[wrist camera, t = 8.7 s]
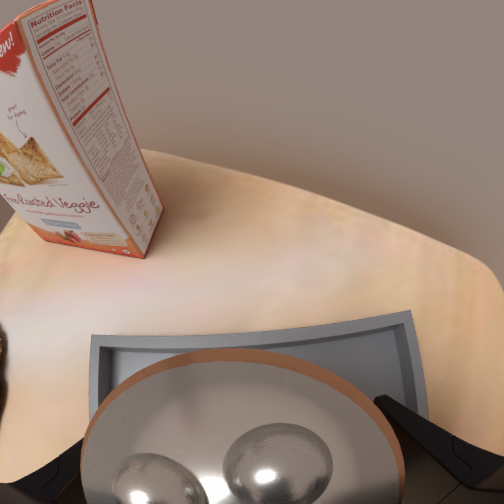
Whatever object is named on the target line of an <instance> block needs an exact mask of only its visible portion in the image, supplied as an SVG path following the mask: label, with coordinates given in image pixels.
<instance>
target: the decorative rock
mask: <svg viewBox="0 0 504 504" xmlns="http://www.w3.org/2000/svg"><path fill="white" fill-rule="evenodd" d="M1 339H2V338H0V341H1ZM3 348H4V347H2V345H1V343H0V361H1V354H2V352H3Z"/></svg>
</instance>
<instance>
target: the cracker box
mask: <svg viewBox="0 0 504 504" xmlns="http://www.w3.org/2000/svg"><path fill="white" fill-rule="evenodd" d="M0 193H1V195H2V196H3V197H4V198H5V199H6V200H7V201H8V203H9V204H10V205H11V206H12V207H13V208H14V210H15V211H16V212H17V213H18V214H19V215H20V216H21V217H22V218H23V219H24V220H25V221H26V223H27V224H28V225H29V226H30V227H31V228H32V229H33V230H34V231H35V232H36V233H37V234H38V235H39V236H40V237H41V238H42V239H43V240H45V241H51V242H56V243H61V244H66V245H71V246H77V247H82V248H87V249H93V250H98V251H104V252H109V253H114V254H120V255H126V256H131V257H137V258H144V256H145V254H146V251H147V248H148V246H149V243H150V241H151V238H152V236H153V233H154V231H155V228H156V226H157V223H158V221H159V219H160V216H161V214H162V211H163V209H164V206H163V203H162V201H161V198H160V196H159V194H158V191H157V189H156V187H155V184H154V182H153V180H152V177H151V175H150V173H149V170H148V168H147V165H146V163H145V160H144V158H143V155H142V153H141V150H140V148H139V146H138V143H137V140H136V138H135V135H134V133H133V130H132V127H131V125H130V122H129V120H128V117H127V114H126V111H125V108H124V105H123V103H122V100H121V97H120V94H119V91H118V89H117V85H116V82H115V79H114V77H113V73H112V70H111V67H110V64H109V61H108V58H107V54H106V51H105V48H104V44H103V41H102V37H101V34H100V30H99V27H98V23H97V19H96V16H95V11H94V8H93V4H92V0H48V1H46V2H43V3H41V4H39V5H36V6H34V7H32V8H30V9H28V10H27V11H25V12H23V13H22V14H20V15H19V16H18V17H17V18H15V19H14V20H13V21H11V22H10V23H9V24H8V25H6V26H5V27H4V28H3V29H2V30H0Z"/></svg>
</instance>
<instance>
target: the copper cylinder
mask: <svg viewBox="0 0 504 504" xmlns="http://www.w3.org/2000/svg"><path fill="white" fill-rule="evenodd" d="M80 469H81V481H82V486H83V490H84V494H85V498H86V501H87V504H401V503H402V499H403V495H404V487H405V468H404V459H403V455H402V451H401V448H400V444H399V441H398V439H397V437H396V435H395V433H394V431H393V429H392V427H391V425H390V424H389V422H388V421H387V419H386V418H385V416H384V415H383V413H382V412H381V411H380V409H379V408H378V407H377V406H376V405H375V404H374V403H373V402H372V401H371V400H370V399H369V398H368V397H367V396H366V395H365V394H364V393H362V392H361V391H360V390H359V389H357V388H356V387H355V386H354V385H352V384H351V383H350V382H348V381H346V380H345V379H343V378H341V377H340V376H338V375H336V374H335V373H333V372H331V371H329V370H327V369H325V368H322V367H320V366H318V365H316V364H314V363H311V362H308V361H305V360H302V359H299V358H296V357H293V356H290V355H285V354H280V353H276V352H271V351H266V350H256V349H247V348H217V349H207V350H198V351H193V352H189V353H184V354H179V355H176V356H173V357H170V358H167V359H164V360H161V361H158V362H156V363H154V364H152V365H150V366H148V367H145V368H143V369H141V370H139V371H138V372H136V373H135V374H133V375H132V376H130V377H129V378H127V379H126V380H124V381H123V382H122V383H121V384H120V385H118V386H117V387H116V388H115V389H114V390H113V391H112V392H111V393H110V394H109V395H108V396H107V397H106V398H105V400H104V401H103V402H102V403H101V404H100V406H99V407H98V409H97V411H96V412H95V414H94V416H93V417H92V419H91V421H90V423H89V426H88V428H87V431H86V433H85V436H84V441H83V445H82V449H81V462H80Z"/></svg>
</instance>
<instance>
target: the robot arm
mask: <svg viewBox="0 0 504 504" xmlns="http://www.w3.org/2000/svg"><path fill="white" fill-rule="evenodd" d="M373 403H374V404H375V405H376V406H377V407H378V408H379V409H380V411H381V412H382V413H383V415H384V416H385V418H386V419H387V421H388V422H389V424H390V425H391V427H392V429H393V431H394V433H395V435H396V437H397V439H398V441H399V444H400V448H401V451H402V455H403V459H404V468H405V487H404V495H403V499H402V503H401V504H504V456H500V455H497V454H494V453H492V452H489V451H486V450H484V449H481V448H479V447H476V446H474V445H472V444H469V443H467V442H465V441H464V440H462V439H460V438H458V437H456V436H454V435H452V434H451V433H449V432H447V431H446V430H444V429H442V428H440V427H439V426H437V425H435V424H434V423H432V422H430V421H429V420H427V419H425V418H424V417H422V416H420V415H419V414H417V413H415V412H414V411H412V410H411V409H409V408H407V407H406V406H404V405H402V404H401V403H399V402H398V401H396V400H394V399H393V398H391V397H390V396H388V395H386V394H383V395H379V396H376V397H375V398H374V401H373ZM83 441H84V438H82V439H81V440H80V441H78V442H77V443H76V444H74V445H73V446H72V447H70V448H69V449H68V450H66V451H65V452H63V453H62V454H61V455H59V457H56V458H55V459H54V460H52V461H51V462H49V463H48V464H46V465H45V466H43V467H42V468H40V469H38V470H37V471H35V472H33V473H31V474H29V475H27V476H25V477H23V478H21V479H19V480H18V481H15V482H12V483H0V504H87V501H86V498H85V494H84V490H83V486H82V481H81V469H80V462H81V449H82V445H83Z"/></svg>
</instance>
